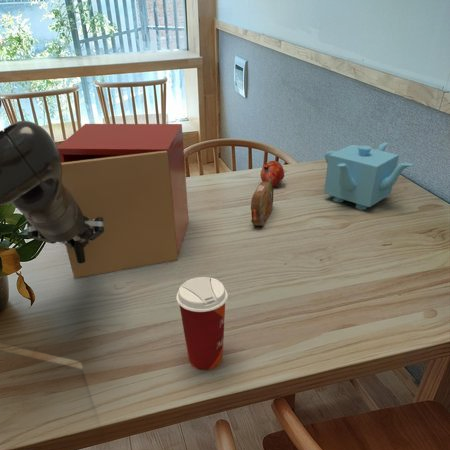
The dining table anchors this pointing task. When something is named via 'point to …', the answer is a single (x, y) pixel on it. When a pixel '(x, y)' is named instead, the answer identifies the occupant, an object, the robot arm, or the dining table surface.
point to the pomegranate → (272, 173)
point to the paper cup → (203, 320)
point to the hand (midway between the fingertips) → (77, 242)
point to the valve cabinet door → (123, 211)
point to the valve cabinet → (136, 144)
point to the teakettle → (361, 174)
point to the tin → (262, 203)
